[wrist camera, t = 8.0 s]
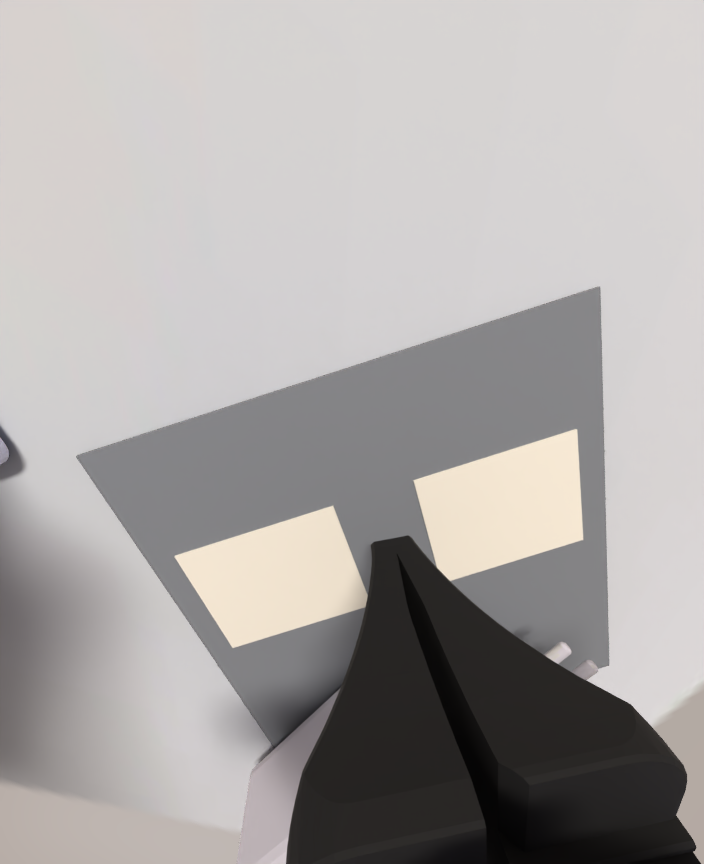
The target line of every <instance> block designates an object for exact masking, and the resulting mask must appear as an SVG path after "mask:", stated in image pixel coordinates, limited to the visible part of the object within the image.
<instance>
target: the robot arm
mask: <svg viewBox="0 0 704 864" xmlns="http://www.w3.org/2000/svg"><path fill="white" fill-rule="evenodd" d="M8 457H9V450H8V448H7V446H6V444H5V443H4V442H3V441H2V439H1V438H0V465H1V464H3V463H4V462H6V461H7V459H8ZM371 551H372V566H371V577H370V585H369V592H368V597H367V602H366V607H365V612H364V617H363V621H362V625H361V628H360V632H359V636H358V639H357V643H356V646H355V649H354V652H353V655H352V658H351V661H350V664H349V667H348V670H347V673H346V675H345V678H344V681H343V683H342V686H341V688H340V691H339V693H338V695H337V698H336V700H335V703H334V705H333V707H332V710H331V712H330V715H329V717H328V719H327V721H326V724H325V726H324V728H323V730H322V732H321V734H320V736H319V738H318V740H317V742H316V744H315V746H314V748H313V750H312V752H311V754H310V756H309V758H308V760H307V763H306V765H305V767H304V769H303V771H302V775H301V778H300V782H299V787H298V791H297V795H296V799H295V804H294V808H293V813H292V818H291V824H290V830H289V837H288V844H287V855H286V864H701V863H700V862H699V860H698V859H697V858H696V856H695V854H694V853H693V851H695V849H696V845H695V843H694V841H693V839H692V837H691V836H690V835H689V833H688V832H687V830H686V829H685V828H684V826H683V825H682V823H681V822H680V820H679V819H678V818H677V816H676V813H677V811H678V809H679V806H680V803H681V801H682V798H683V795H684V793H685V790H686V784H687V774H686V771H685V768H684V766H683V764H682V763H681V762H680V760H679V759H678V758H677V757H676V755H675V754H674V753H673V752H672V751H671V749H670V748H669V747H668V746H667V744H666V743H665V742H664V740H663V739H662V738H661V737H660V736H659V735H658V734H657V732H656V731H655V730H654V729H653V728H652V727H651V726H650V725H649V724H648V722H647V721H646V720H645V719H644V718H643V717H642V716H641V715H640V714H639V713H638V712H637V711H636V710H635V709H634V708H633V706H632V705H631V704H629V703H627V702H625V701H623V700H621V699H620V698H618V697H616V696H614V695H612V694H610V693H608V692H607V691H605V690H603V689H601V688H599V687H597V686H595V685H594V684H592V683H590V682H588V681H586V680H584V679H582V678H581V677H579V676H577V675H575V674H574V673H572V672H570V671H569V670H567V669H566V668H564V667H562V666H561V665H559V664H557V663H556V662H554V661H552V660H551V659H549V658H548V657H546V656H545V655H543V654H542V653H540V652H539V651H537V650H536V649H534V648H533V647H531V646H530V645H528V644H527V643H525V642H524V641H522V640H521V639H519V638H518V637H516V636H515V635H514V634H512V633H511V632H510V631H508V630H507V629H506V628H504V627H503V626H502V625H500V624H499V623H498V622H496V621H495V620H494V619H493V618H491V617H490V616H489V615H488V614H486V613H485V612H484V611H483V610H481V609H480V608H479V607H478V606H477V605H475V604H474V603H473V602H472V601H471V600H470V599H469V598H468V597H466V596H465V595H464V594H463V593H462V592H461V591H460V590H459V589H458V588H457V587H456V586H455V585H454V584H453V583H452V582H450V581H449V580H448V578H447V577H446V576H445V575H444V574H443V573H442V572H441V571H440V570H439V569H438V568H437V567H436V566H435V565H434V564H433V563H432V562H431V561H430V559H429V558H428V557H427V556H426V555H425V554H424V553H423V551H422V550H421V549H420V548H419V546H418V545H417V544H416V543H415V541H414V540H413V538H412V537H410V536H409V535H407V536H402V537H397V538H391V539H386V540H381V541H375V542H373V543H372V544H371Z"/></svg>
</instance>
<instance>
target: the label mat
mask: <svg viewBox="0 0 704 864" xmlns="http://www.w3.org/2000/svg"><path fill="white" fill-rule="evenodd" d="M76 457H77V459H78V460H79V462H80V463H81V465H82V466H83V468H84V469H85V471H86V472H87V474H88V475H89V476H90V478H91V479H92V481H93V482H94V484H95V485H96V487H97V488H98V490H99V491H100V493H101V494H102V496H103V497H104V498H105V500H106V501H107V503H108V504H109V506H110V507H111V509H112V510H113V512H114V513H115V515H116V516H117V518H118V519H119V521H120V522H121V523H122V525H123V526H124V528H125V529H126V531H127V532H128V534H129V535H130V537H131V538H132V540H133V541H134V543H135V544H136V545H137V547H138V548H139V550H140V551H141V553H142V554H143V556H144V557H145V559H146V560H147V562H148V563H149V565H150V566H151V568H152V569H153V570H154V572H155V573H156V575H157V576H158V578H159V579H160V581H161V582H162V584H163V585H164V587H165V588H166V590H167V591H168V592H169V594H170V595H171V597H172V598H173V600H174V601H175V603H176V604H177V606H178V607H179V609H180V610H181V612H182V613H183V615H184V616H185V617H186V619H187V620H188V622H189V623H190V625H191V626H192V628H193V629H194V631H195V632H196V634H197V635H198V637H199V638H200V639H201V641H202V642H203V644H204V645H205V647H206V648H207V650H208V651H209V653H210V654H211V656H212V657H213V659H214V660H215V662H216V663H217V664H218V666H219V667H220V669H221V670H222V672H223V673H224V675H225V676H226V678H227V679H228V681H229V682H230V684H231V685H232V686H233V688H234V689H235V691H236V692H237V694H238V695H239V697H240V698H241V700H242V701H243V703H244V704H245V706H246V707H247V709H248V710H249V711H250V713H251V714H252V716H253V717H254V719H255V720H256V722H257V723H258V725H259V726H260V728H261V729H262V731H263V732H264V733H265V735H266V736H267V738H268V739H269V741H270V742H271V744H272V745H273V747H274V748H276V747H277V746H278V745H279V744H280V743H282V742H283V741H284V740H285V739H286V738H287V737H288V736H289V735H290V734H291V733H292V732H293V731H294V730H296V729H297V728H298V727H299V726H300V725H301V724H302V723H303V722H304V721H305V720H306V719H307V718H309V717H310V716H311V715H312V714H313V713H314V712H315V711H316V710H317V709H318V708H319V707H320V706H322V705H323V704H324V703H325V702H326V701H327V700H328V699H329V698H330V697H331V696H332V695H333V694H335V693H336V692H337V691H338V690H339V689H340V688H341V686H342V683H343V681H344V678H345V675H346V673H347V670H348V667H349V664H350V661H351V658H352V655H353V652H354V649H355V646H356V643H357V639H358V636H359V632H360V628H361V625H362V621H363V617H364V612H365V607H366V602H367V597H368V592H369V585H370V577H371V566H372V551H371V544H372V543H373V542H375V541H381V540H386V539H391V538H397V537H402V536H407V535H409V536H410V537H412V538H413V540H414V541H415V543H416V544H417V545H418V546H419V548H420V549H421V550H422V551H423V553H424V554H425V555H426V556H427V557H428V558H429V559H430V561H431V562H432V563H433V564H434V565H435V566H436V567H437V568H438V569H439V570H440V571H441V572H442V573H443V574H444V575H445V576H446V577H447V578H448V580H449V581H450V582H452V583H453V584H454V585H455V586H456V587H457V588H458V589H459V590H460V591H461V592H462V593H463V594H464V595H465V596H466V597H468V598H469V599H470V600H471V601H472V602H473V603H474V604H475V605H477V606H478V607H479V608H480V609H481V610H483V611H484V612H485V613H486V614H488V615H489V616H490V617H491V618H493V619H494V620H495V621H496V622H498V623H499V624H500V625H502V626H503V627H504V628H506V629H507V630H508V631H510V632H511V633H512V634H514V635H515V636H516V637H518V638H519V639H521V640H522V641H524V642H525V643H527V644H528V645H530V646H531V647H533V648H534V649H536V650H537V651H539V652H540V653H542V654H543V655H544V654H545V653H546V652H548V651H549V650H550V649H551V648H553V647H554V646H555V645H556V644H558V643H559V642H565V643H566V644H567V645H568V646H569V647H570V649H571V654H570V655H569V656H568V657H567V658H565V659H564V660H563V661H561V662H560V663H559V665H561V666H562V667H564V668H566V669H567V670H569V671H570V672H571V671H572V670H573V669H575V668H576V667H577V666H579V665H580V664H581V663H583V662H584V661H585V660H591V661H593V662H594V663H595V665H596V666H597V668H598V669H599V668H602V667H605V666H609V633H608V591H607V550H606V508H605V466H604V424H603V382H602V340H601V298H600V287H596V288H593V289H590V290H587V291H583V292H580V293H577V294H574V295H571V296H568V297H565V298H562V299H559V300H556V301H553V302H550V303H546V304H543V305H540V306H537V307H534V308H531V309H528V310H525V311H522V312H519V313H516V314H512V315H509V316H506V317H503V318H500V319H497V320H494V321H491V322H488V323H485V324H482V325H478V326H475V327H472V328H469V329H466V330H463V331H460V332H457V333H454V334H451V335H448V336H444V337H441V338H438V339H435V340H432V341H429V342H426V343H423V344H420V345H417V346H414V347H411V348H407V349H404V350H401V351H398V352H395V353H392V354H389V355H386V356H383V357H380V358H377V359H373V360H370V361H367V362H364V363H361V364H358V365H355V366H352V367H349V368H346V369H343V370H339V371H336V372H333V373H330V374H327V375H324V376H321V377H318V378H315V379H312V380H309V381H305V382H302V383H299V384H296V385H293V386H290V387H287V388H284V389H281V390H278V391H275V392H272V393H268V394H265V395H262V396H259V397H256V398H253V399H250V400H247V401H244V402H241V403H238V404H234V405H231V406H228V407H225V408H222V409H219V410H216V411H213V412H210V413H207V414H204V415H200V416H197V417H194V418H191V419H188V420H185V421H182V422H179V423H176V424H173V425H170V426H166V427H163V428H160V429H157V430H154V431H151V432H148V433H145V434H142V435H139V436H136V437H133V438H129V439H126V440H123V441H120V442H117V443H114V444H111V445H108V446H105V447H102V448H99V449H95V450H92V451H89V452H86V453H83V454H80V455H77V456H76Z"/></svg>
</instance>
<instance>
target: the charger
mask: <svg viewBox="0 0 704 864" xmlns="http://www.w3.org/2000/svg"><path fill="white" fill-rule="evenodd" d="M570 654H571V649H570V647H569V646H568V645H567V644H566V643H565V642H559V643H558V644H556V645H555V646H554V647H553V648H551V649H550V650H549V651H548V652H546V653H545V654H544V655H545V656H546V657H548V658H549V659H551V660H552V661H554V662H556V663H557V664H559V663H560V662H561V661H563V660H564V659H565V658H567V657H568V656H569V655H570ZM571 672H572V673H574V674H575V675H577V676H579V677H581V678H582V679H584V680H587V679H589V678H590V677H591V676H593V675H594V674H595V673H597V672H598V668H597V666H596V665H595V663H594V662H593V661H591V660H585V661H584V662H583V663H581V664H580V665H579V666H577V667H576V668H575V669H573V670H572V671H571ZM339 691H340V689H339V690H338V691H337V692H336V693H335V694H333V695H332V696H331V697H330V698H329V699H328V700H327V701H326V702H325V703H324V704H323V705H322V706H320V707H319V708H318V709H317V710H316V711H315V712H314V713H313V714H312V715H311V716H310V717H309V718H307V719H306V720H305V721H304V722H303V723H302V724H301V725H300V726H299V727H298V728H297V729H296V730H294V731H293V732H292V733H291V734H290V735H289V736H288V737H287V738H286V739H285V740H284V741H283V742H282V743H280V744H279V745H278V746H277V747H276V748H275V749H274V750H273V751H272V752H271V753H270V754H269V755H267V756H266V757H265V758H264V759H263V760H262V761H261V762H260V763H259V764H258V765H257V766H256V767H255V768H253V769H252V772H251V775H250V779H249V785H248V792H247V799H246V805H245V812H244V818H243V825H242V832H241V838H240V845H239V852H238V858H237V864H286V855H287V844H288V837H289V830H290V824H291V818H292V813H293V808H294V804H295V799H296V795H297V791H298V787H299V782H300V778H301V775H302V771H303V769H304V767H305V765H306V763H307V760H308V758H309V756H310V754H311V752H312V750H313V748H314V746H315V744H316V742H317V740H318V738H319V736H320V734H321V732H322V730H323V728H324V726H325V724H326V721H327V719H328V717H329V715H330V712H331V710H332V707H333V705H334V703H335V700H336V698H337V695H338V693H339Z"/></svg>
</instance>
